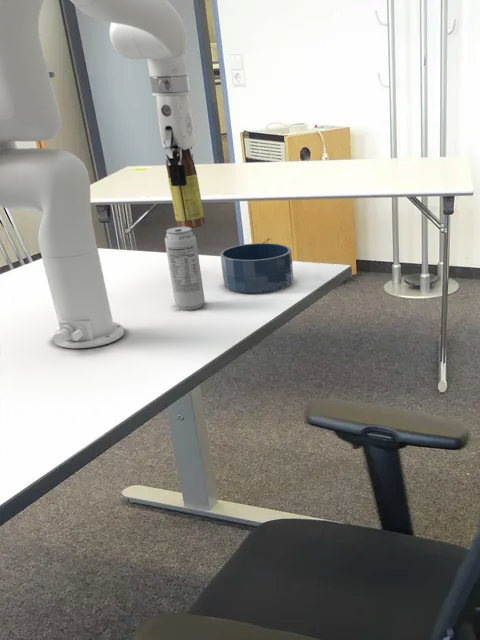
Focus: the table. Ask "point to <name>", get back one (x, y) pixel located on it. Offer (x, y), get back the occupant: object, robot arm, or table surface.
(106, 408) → the table surface
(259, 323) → the table surface
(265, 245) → the navy blue bowl
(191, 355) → the table surface
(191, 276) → the energy drink can
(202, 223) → the sauce bottle
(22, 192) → the robot arm
